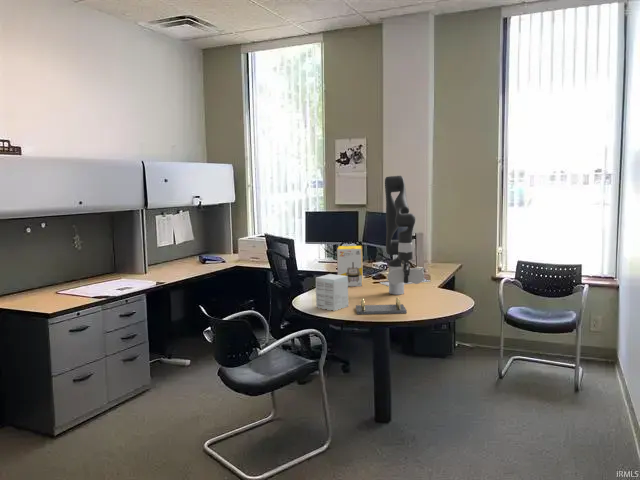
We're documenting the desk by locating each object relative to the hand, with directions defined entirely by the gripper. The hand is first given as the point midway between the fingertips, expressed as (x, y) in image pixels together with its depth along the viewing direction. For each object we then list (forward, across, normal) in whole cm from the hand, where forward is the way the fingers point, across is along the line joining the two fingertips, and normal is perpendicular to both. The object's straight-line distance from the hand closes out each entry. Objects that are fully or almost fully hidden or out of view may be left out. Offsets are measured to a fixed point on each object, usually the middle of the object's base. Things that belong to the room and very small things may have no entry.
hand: (405, 282), depth 287 cm
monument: (+16, -75, +13) cm, 77 cm away
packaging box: (+15, -75, -25) cm, 80 cm away
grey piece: (+1, 0, 0) cm, 1 cm away
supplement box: (+15, -10, -40) cm, 44 cm away
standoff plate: (+15, +1, -14) cm, 20 cm away
